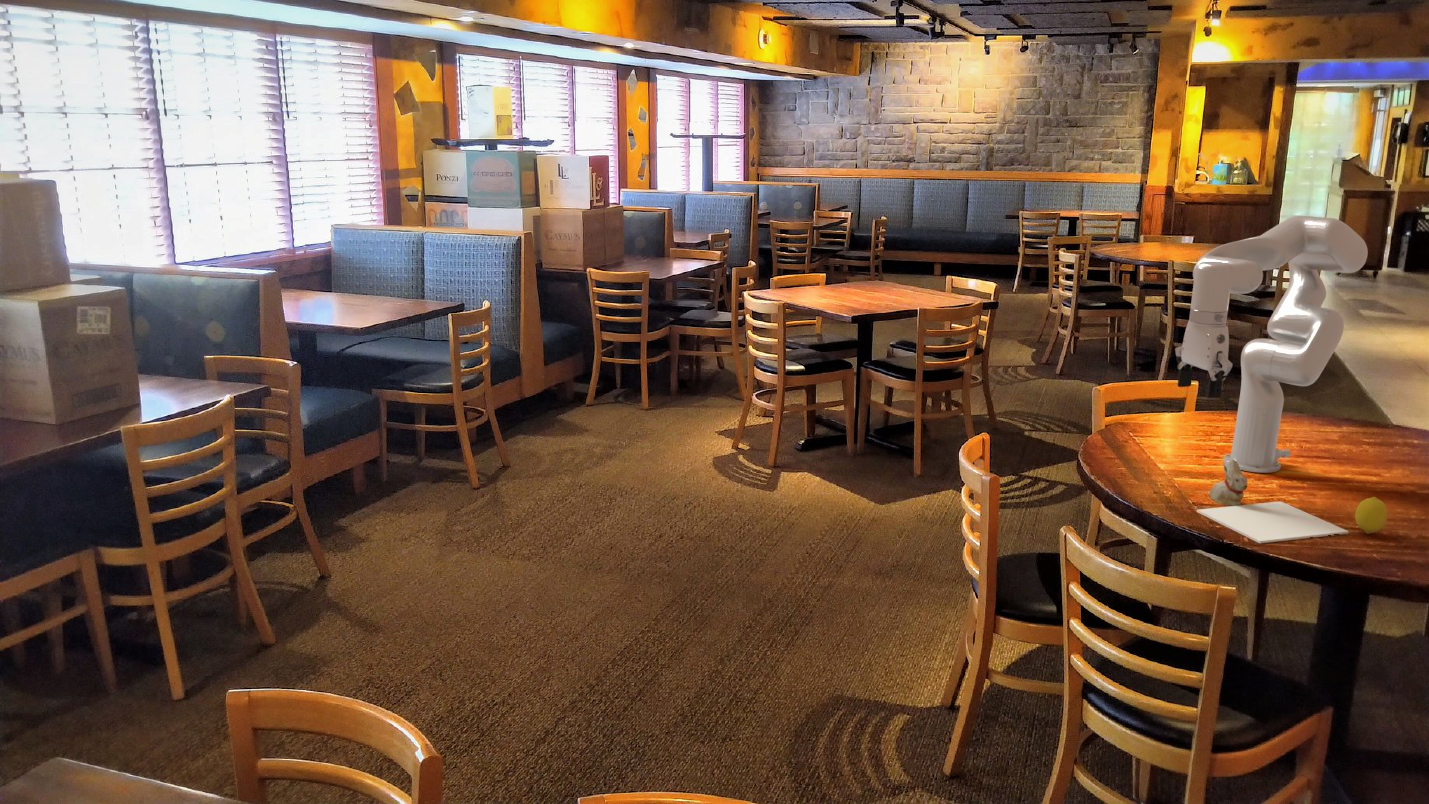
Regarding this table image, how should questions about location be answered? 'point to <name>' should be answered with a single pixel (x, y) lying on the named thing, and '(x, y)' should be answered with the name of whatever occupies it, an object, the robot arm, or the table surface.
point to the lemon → (1371, 515)
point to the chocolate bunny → (1230, 486)
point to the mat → (1271, 522)
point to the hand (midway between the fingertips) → (1198, 391)
